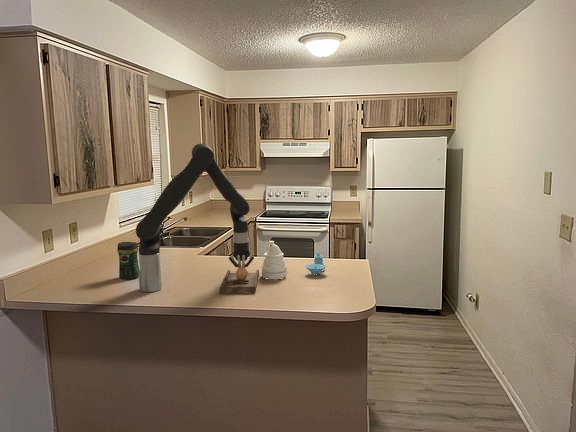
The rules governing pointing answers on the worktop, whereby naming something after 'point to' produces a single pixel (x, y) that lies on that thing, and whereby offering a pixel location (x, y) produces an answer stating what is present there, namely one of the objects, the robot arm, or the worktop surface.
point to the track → (231, 278)
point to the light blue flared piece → (316, 265)
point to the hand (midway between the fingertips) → (242, 275)
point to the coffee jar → (128, 260)
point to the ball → (241, 273)
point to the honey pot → (274, 263)
